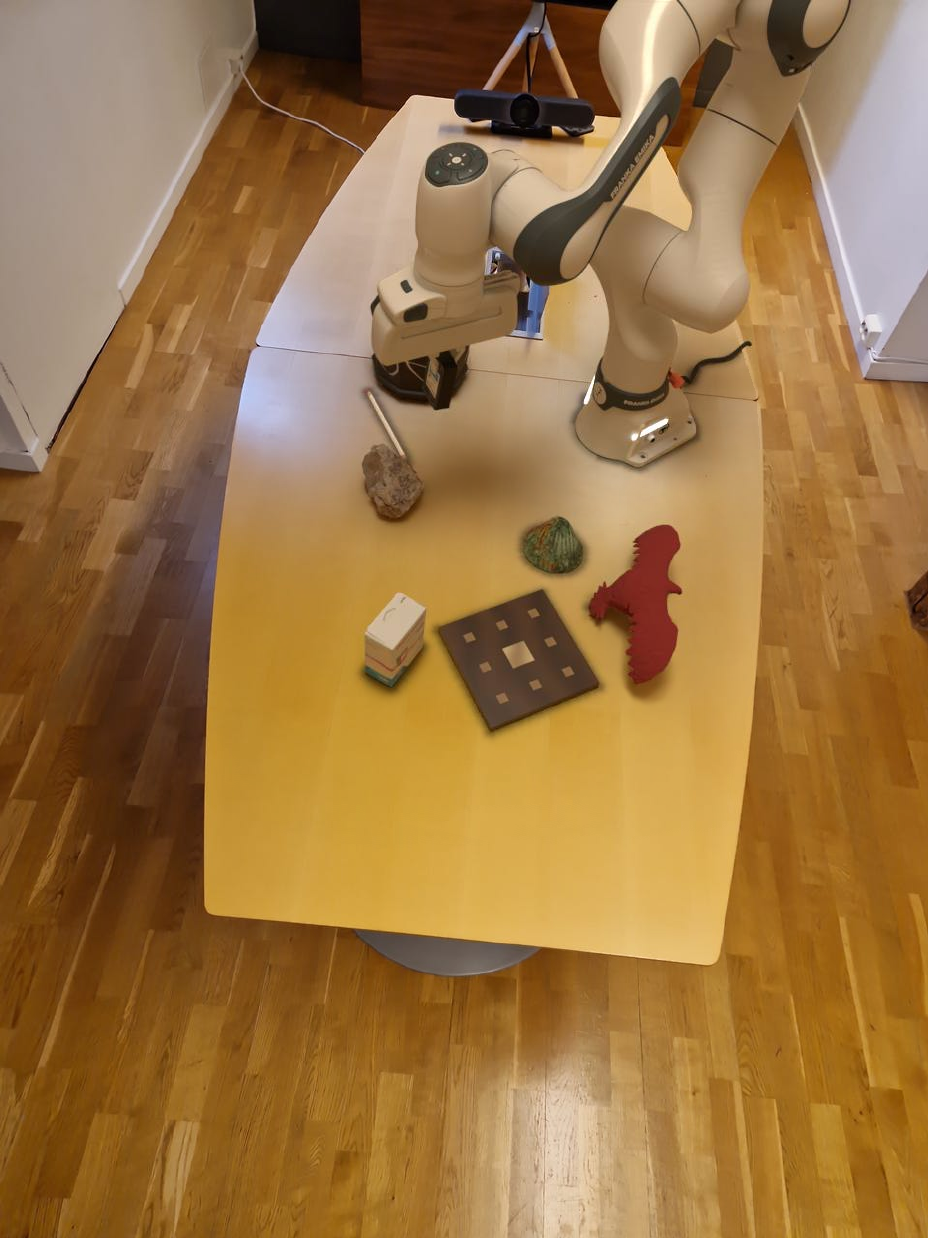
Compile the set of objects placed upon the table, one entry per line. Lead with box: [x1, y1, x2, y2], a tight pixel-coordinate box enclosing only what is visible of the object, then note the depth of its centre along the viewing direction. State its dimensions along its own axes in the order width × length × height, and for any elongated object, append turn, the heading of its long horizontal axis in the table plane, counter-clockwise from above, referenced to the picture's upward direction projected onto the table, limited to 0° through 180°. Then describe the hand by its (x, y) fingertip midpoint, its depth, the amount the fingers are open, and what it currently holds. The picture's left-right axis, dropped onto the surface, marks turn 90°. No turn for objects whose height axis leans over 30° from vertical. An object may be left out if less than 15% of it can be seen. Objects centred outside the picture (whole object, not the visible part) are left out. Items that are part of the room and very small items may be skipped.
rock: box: [361, 442, 426, 519], centre depth 133 cm, size 9×12×10 cm
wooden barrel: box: [369, 294, 471, 404], centre depth 146 cm, size 18×18×16 cm
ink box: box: [364, 591, 427, 688], centre depth 116 cm, size 9×5×12 cm, turn 148°
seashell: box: [523, 515, 584, 574], centre depth 132 cm, size 10×4×10 cm
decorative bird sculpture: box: [587, 524, 683, 685], centre depth 124 cm, size 28×9×15 cm
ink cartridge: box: [422, 350, 458, 411], centre depth 116 cm, size 5×2×8 cm, turn 24°
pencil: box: [365, 388, 407, 458], centre depth 145 cm, size 1×19×1 cm, turn 25°
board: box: [437, 588, 600, 732], centre depth 122 cm, size 18×18×1 cm
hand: (443, 369), depth 115 cm, fingers closed, pressing on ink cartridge
